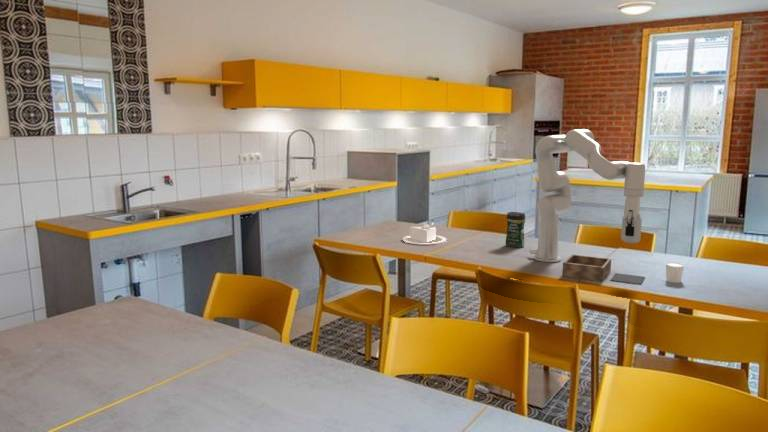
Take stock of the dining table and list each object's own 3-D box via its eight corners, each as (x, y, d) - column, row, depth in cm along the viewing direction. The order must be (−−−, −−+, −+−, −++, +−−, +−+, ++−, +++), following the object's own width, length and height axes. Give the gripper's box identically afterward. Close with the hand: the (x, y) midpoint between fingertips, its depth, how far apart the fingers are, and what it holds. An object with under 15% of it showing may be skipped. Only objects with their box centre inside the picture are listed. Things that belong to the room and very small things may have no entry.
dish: (453, 239, 326) (453, 220, 324) (433, 248, 305) (433, 227, 304) (416, 234, 339) (416, 216, 337) (394, 243, 319) (394, 223, 317)
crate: (562, 275, 250) (562, 262, 249) (571, 267, 264) (572, 254, 263) (603, 281, 241) (603, 267, 240) (610, 271, 255) (611, 258, 254)
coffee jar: (503, 246, 306) (504, 212, 303) (509, 243, 313) (510, 210, 309) (520, 248, 300) (521, 214, 297) (526, 246, 307) (527, 211, 303)
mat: (610, 280, 242) (610, 279, 242) (615, 273, 252) (615, 273, 252) (641, 284, 236) (641, 283, 235) (645, 277, 246) (645, 276, 246)
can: (642, 243, 236) (644, 215, 234) (622, 243, 238) (624, 215, 236) (637, 240, 244) (639, 212, 242) (619, 239, 245) (621, 212, 243)
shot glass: (661, 278, 244) (662, 262, 243) (676, 278, 244) (678, 262, 243) (670, 283, 237) (671, 267, 236) (686, 282, 238) (687, 266, 237)
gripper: (627, 189, 246) (624, 229, 249) (620, 194, 232) (617, 237, 235) (646, 190, 243) (643, 231, 246) (640, 195, 228) (637, 238, 231)
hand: (631, 233), depth 240 cm, fingers closed on can, 7 cm apart
